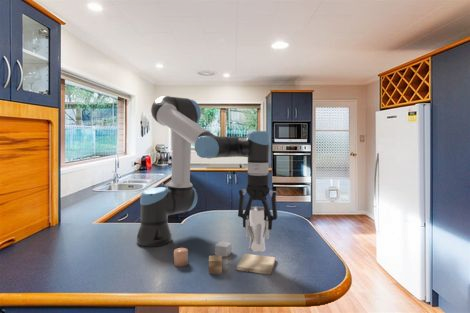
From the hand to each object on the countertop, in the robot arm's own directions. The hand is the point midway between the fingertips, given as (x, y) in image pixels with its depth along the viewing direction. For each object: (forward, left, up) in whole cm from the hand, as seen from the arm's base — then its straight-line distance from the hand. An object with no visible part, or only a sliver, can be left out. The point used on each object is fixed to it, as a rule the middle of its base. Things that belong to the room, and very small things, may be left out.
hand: (257, 237), depth 105 cm
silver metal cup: (0, 0, -5) cm, 5 cm away
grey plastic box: (-15, +7, -11) cm, 20 cm away
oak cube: (-13, -8, -11) cm, 19 cm away
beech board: (0, 0, -10) cm, 10 cm away
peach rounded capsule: (-27, -7, -11) cm, 30 cm away
